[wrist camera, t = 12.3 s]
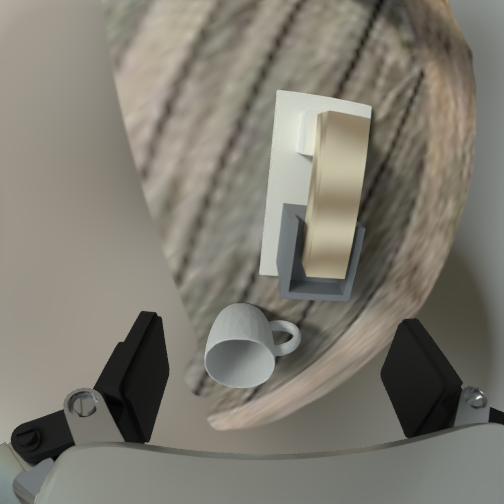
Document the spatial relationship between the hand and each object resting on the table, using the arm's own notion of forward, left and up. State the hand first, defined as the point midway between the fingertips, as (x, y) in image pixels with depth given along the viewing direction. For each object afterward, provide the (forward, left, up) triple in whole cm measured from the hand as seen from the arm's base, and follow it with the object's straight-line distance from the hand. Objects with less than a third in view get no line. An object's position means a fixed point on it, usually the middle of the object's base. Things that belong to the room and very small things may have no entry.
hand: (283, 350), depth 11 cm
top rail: (-3, +7, -23) cm, 24 cm away
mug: (+18, +1, -29) cm, 34 cm away
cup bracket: (-3, +7, -29) cm, 29 cm away
